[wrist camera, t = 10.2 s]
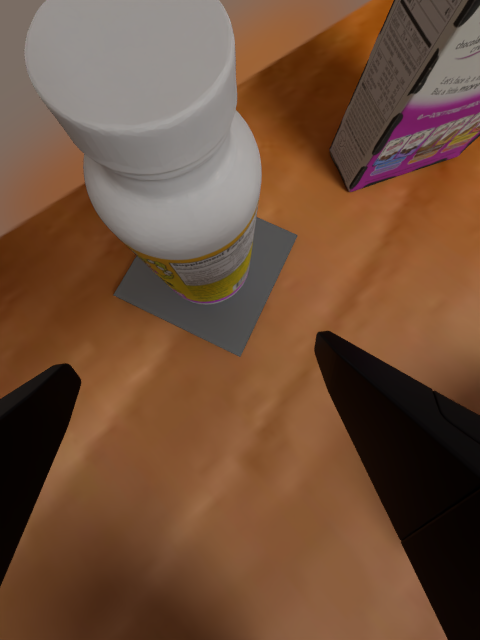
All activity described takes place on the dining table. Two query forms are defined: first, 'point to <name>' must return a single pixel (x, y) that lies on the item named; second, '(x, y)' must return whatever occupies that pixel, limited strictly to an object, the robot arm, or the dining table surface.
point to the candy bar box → (413, 93)
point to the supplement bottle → (156, 131)
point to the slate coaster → (224, 317)
